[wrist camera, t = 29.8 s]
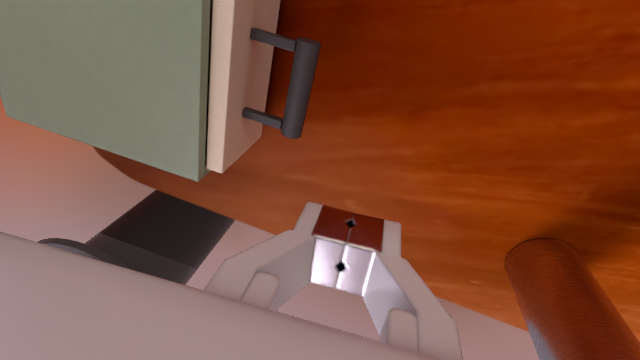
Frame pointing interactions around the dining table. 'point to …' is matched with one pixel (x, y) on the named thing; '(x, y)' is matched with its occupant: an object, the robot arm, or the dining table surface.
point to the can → (566, 305)
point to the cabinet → (112, 75)
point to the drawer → (250, 78)
